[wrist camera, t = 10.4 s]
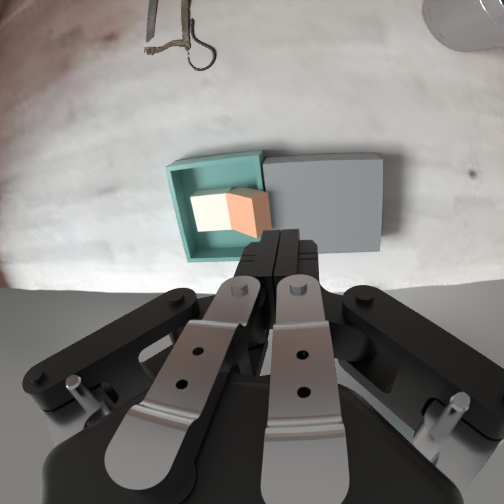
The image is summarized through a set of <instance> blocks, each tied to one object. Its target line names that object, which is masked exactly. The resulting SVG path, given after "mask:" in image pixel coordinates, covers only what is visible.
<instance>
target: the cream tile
mask: <svg viewBox="0 0 504 504" xmlns="http://www.w3.org/2000/svg"><path fill="white" fill-rule="evenodd" d="M230 190H232V187H229V188H219V189H209V190H199V191H196V192H195V193H194V194H193V195H192V196H191V197H190V198H191V203H192V208H193V212H194V217H195V221H196V226H197V230H198V232H200V231H216V230H233V229H231V223H230V217H229V212H228V206H227V200H226V194H225V192H228V191H230Z"/></svg>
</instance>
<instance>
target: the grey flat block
mask: <svg viewBox="0 0 504 504" xmlns="http://www.w3.org/2000/svg"><path fill="white" fill-rule="evenodd" d="M263 172H264V180H265V188H266V192H268V198H269V207H270V215H271V224H272V230H279V229H281V231H282V229H299V232H300V240H313V241H314V242H315V243H316V244H317V247H318V254H323V253H351V252H378V251H380V241H381V225H382V204H383V159H382V158H381V157H380V156H379V155H377V154H376V153H334V154H310V155H292V156H278V157H266V159H265V161H264V163H263Z"/></svg>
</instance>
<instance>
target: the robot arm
mask: <svg viewBox="0 0 504 504" xmlns="http://www.w3.org/2000/svg"><path fill="white" fill-rule="evenodd" d="M422 8H423V16H424V20H425V22H426V24H427V26H428V28H429V29H430V31H431V33H432V34H433V35H434V36H435V37H436V38H437V39H438V40H439V41H440V42H441V43H442V44H444V45H445V46H447V47H448V48H451V49H453V50H456V51H460V52H466V51H473V50H481V49H489V48H498V47H504V0H424V2H423V7H422ZM270 329H273V340H272V359H271V360H272V361H271V375H265V376H260V373H261V369H262V366H263V363H264V359H265V356H266V352H267V348H268V335H269V330H270ZM168 334H169V336H170V339H171V341H172V345H171V346H169V347H167V348H166V349H164V350H163V351H161V352H159V353H158V354H156V355H155V356H153V357H151V358H149V359H148V360H146V361H144V362H142V363H139V360H138V356H139V354H140V352H141V351H142V350H143V349H145V348H146V347H148V346H150V345H151V344H153V343H154V342H156V341H158V340H160V339H161V338H163V337H165V336H166V335H168ZM334 358H337V359H338V362H339V364H340V366H341V367H342V368H343V369H344V370H345V371H346V372H347V373H349V374H350V375H351V376H352V377H353V378H354V379H355V380H356V381H358V382H359V383H360V384H361V385H362V386H363V387H364V388H366V389H367V390H368V391H369V392H370V393H371V394H373V395H374V396H375V397H376V398H377V399H378V400H379V401H380V402H382V403H383V404H384V405H385V406H386V407H387V408H389V409H390V410H391V411H392V412H393V413H394V414H395V415H397V416H398V417H399V418H400V419H401V420H402V421H404V422H405V423H406V424H407V425H408V426H410V427H411V428H412V429H413V430H414V435H413V442H414V446H415V447H414V446H413V445H412V444H411V443H410V442H409V441H408V440H407V439H406V438H405V437H404V436H403V435H402V434H400V433H399V432H398V431H397V430H396V429H395V428H394V427H393V426H392V425H391V424H390V423H389V422H388V421H387V420H386V419H385V418H384V417H383V416H382V415H381V414H380V413H378V412H377V411H376V410H375V409H374V408H373V407H372V406H371V405H370V404H369V403H368V402H367V401H366V400H365V399H364V398H363V397H361V396H360V395H359V394H357V393H356V392H355V391H353V390H351V389H349V388H347V387H345V386H343V385H340V384H337V376H336V369H335V361H334ZM22 384H23V385H22V386H23V389H24V391H25V392H26V393H27V394H28V395H29V397H30V398H31V399H32V400H33V401H34V402H35V403H36V404H37V406H38V408H39V409H40V410H41V411H42V412H43V414H44V417H45V420H46V424H47V427H48V430H49V433H50V436H51V439H52V442H53V444H54V447H55V448H54V449H53V450H52V451H51V452H50V453H49V454H48V456H47V457H46V459H45V462H44V464H43V467H42V472H41V501H40V504H464V501H463V498H462V495H461V494H462V493H463V491H464V490H465V489H466V488H467V487H468V486H469V484H470V483H471V482H472V481H473V479H474V478H475V477H476V475H477V474H478V473H479V472H480V470H481V469H482V468H483V466H484V465H485V463H486V462H487V461H488V459H489V458H490V456H491V455H492V453H493V452H494V451H495V449H496V448H497V447H498V446H499V445H500V444H501V443H502V442H503V441H504V369H503V368H501V367H500V366H498V365H497V364H496V363H494V362H492V361H491V360H490V359H488V358H487V357H485V356H483V355H482V354H481V353H479V352H478V351H476V350H474V349H473V348H471V347H470V346H468V345H467V344H465V343H464V342H462V341H460V340H459V339H458V338H456V337H455V336H453V335H452V334H450V333H448V332H447V331H445V330H444V329H442V328H441V327H439V326H437V325H436V324H434V323H433V322H431V321H430V320H428V319H426V318H425V317H423V316H422V315H420V314H418V313H417V312H415V311H414V310H412V309H410V308H409V307H407V306H405V305H404V304H402V303H401V302H399V301H397V300H396V299H394V298H393V297H391V296H389V295H388V294H386V293H384V292H383V291H381V290H380V289H378V288H376V287H373V286H367V285H359V286H354V287H352V288H349V289H348V290H347V291H346V292H345V293H344V295H337V294H333V293H331V292H328V291H326V290H325V289H324V288H323V287H322V286H321V285H320V283H319V266H318V247H317V244H316V243H315V242H314V241H313V240H300V232H299V229H282V231H281V229H279V230H263V233H262V236H261V239H260V242H251V243H250V244H249V245H247V246H246V247H245V248H244V250H243V253H242V256H241V258H240V262H239V264H238V266H237V269H236V272H235V274H234V277H233V278H230V279H228V280H226V281H225V282H224V283H223V284H222V285H221V286H220V288H219V290H218V291H217V293H216V295H213V296H209V297H204V298H200V299H197V296H196V293H195V292H194V291H193V290H191V289H189V288H177V289H173V290H170V291H168V292H166V293H164V294H163V295H161V296H159V297H157V298H155V299H153V300H151V301H150V302H148V303H146V304H144V305H142V306H141V307H139V308H137V309H135V310H134V311H132V312H130V313H128V314H126V315H124V316H123V317H121V318H119V319H117V320H115V321H114V322H112V323H110V324H108V325H106V326H105V327H103V328H101V329H99V330H97V331H96V332H94V333H92V334H90V335H88V336H86V337H85V338H83V339H81V340H79V341H78V342H76V343H74V344H72V345H70V346H69V347H67V348H65V349H63V350H61V351H60V352H58V353H56V354H54V355H52V356H51V357H49V358H47V359H45V360H43V361H42V362H40V363H38V364H36V365H35V366H33V367H32V368H31V369H30V370H29V371H28V372H27V373H26V375H25V377H24V379H23V383H22Z"/></svg>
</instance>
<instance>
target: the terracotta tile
mask: <svg viewBox="0 0 504 504" xmlns="http://www.w3.org/2000/svg"><path fill="white" fill-rule="evenodd" d="M225 194H226V200H227V206H228V212H229V217H230V223H231V229H233V230H236V231H238V232H241V233H244V234H246V235H249V236H252V237H254V238H259V237H261V236H262V233H263V230H272V224H271V215H270V207H269V198H268V192H265V191H260V190H255V189H250V188H245V187H238V188H236V189H233V190H230V191H228V192H225Z"/></svg>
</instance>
